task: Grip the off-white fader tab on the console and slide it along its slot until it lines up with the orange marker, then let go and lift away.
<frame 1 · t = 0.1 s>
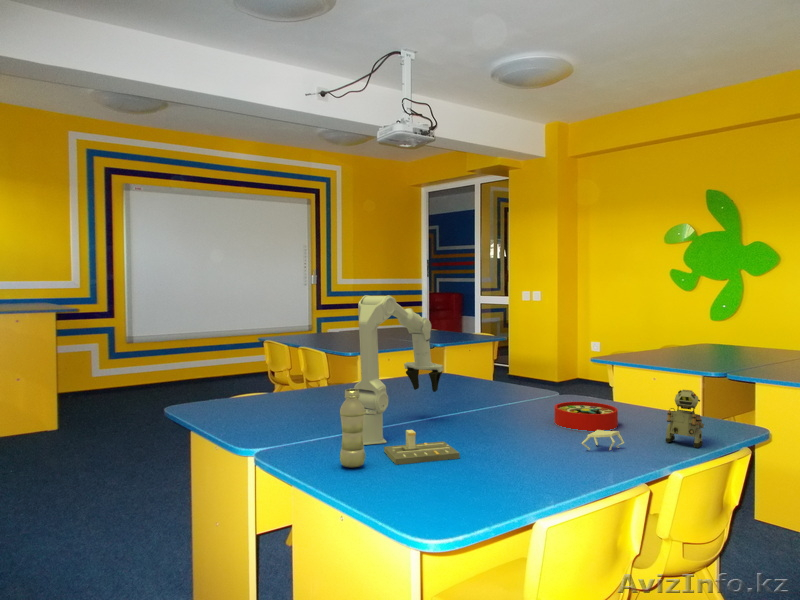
hand: (425, 389, 199), 11 cm above the table, tool pointing down, fingers open, 7 cm apart
fader: (410, 441, 157), point 4 cm above the table, slide at -3.0 cm
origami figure: (599, 450, 163), on the table
red round tray: (585, 425, 191), on the table
figurine: (686, 443, 169), on the table
plastic bottle: (352, 467, 149), on the table
console: (421, 455, 159), on the table
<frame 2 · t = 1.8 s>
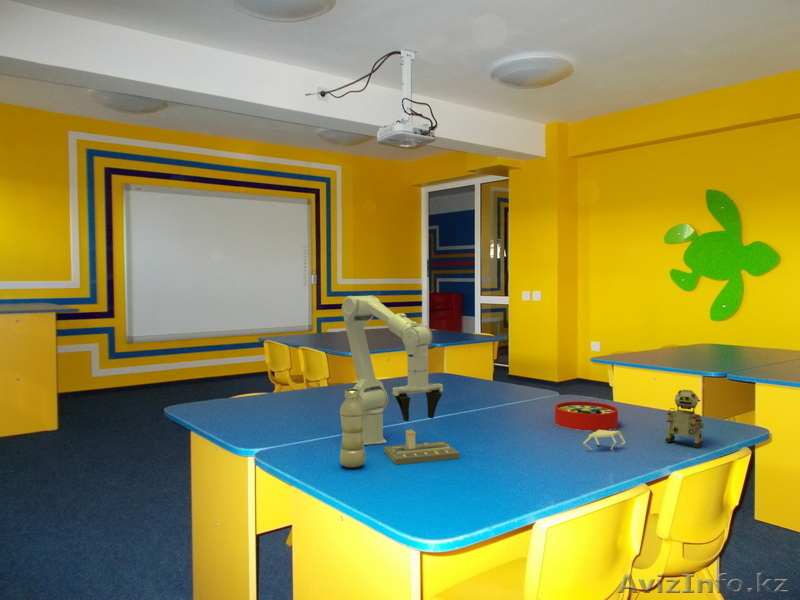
hand: (418, 419, 158), 10 cm above the table, tool pointing down, fingers open, 7 cm apart
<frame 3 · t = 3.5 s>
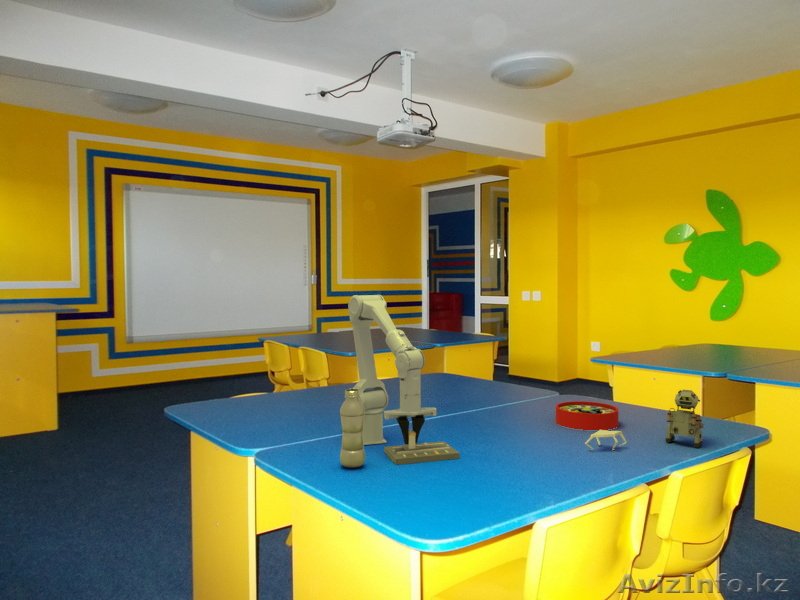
hand: (410, 443, 158), 4 cm above the table, tool pointing down, fingers closed on fader, 2 cm apart
fader: (410, 441, 157), point 4 cm above the table, slide at -3.0 cm, touching gripper
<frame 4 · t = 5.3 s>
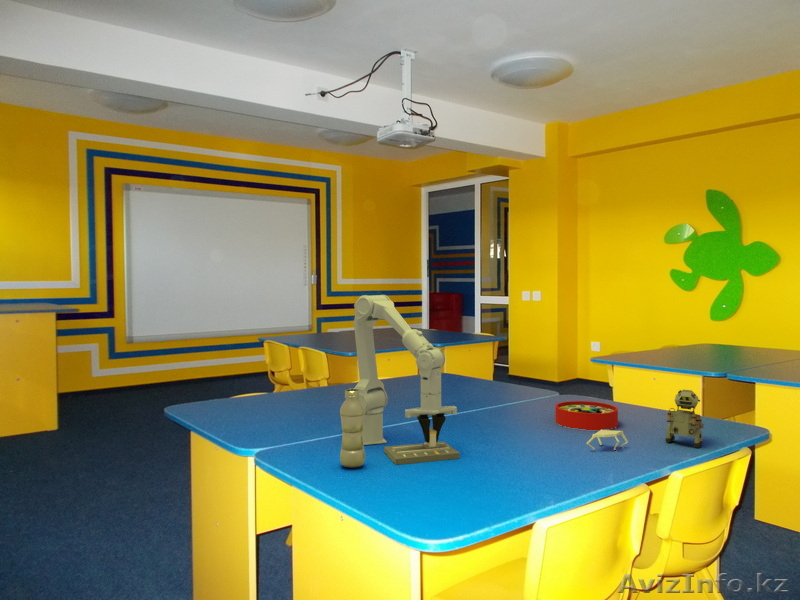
hand: (431, 441, 159), 4 cm above the table, tool pointing down, fingers closed on fader, 2 cm apart
fader: (431, 439, 159), point 4 cm above the table, slide at 3.0 cm, touching gripper
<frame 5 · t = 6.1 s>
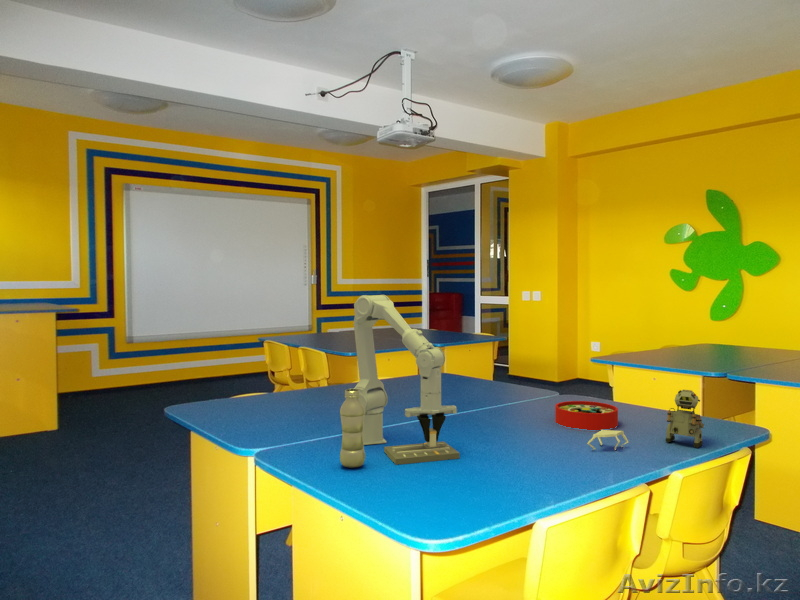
hand: (431, 440, 159), 4 cm above the table, tool pointing down, fingers closed on fader, 2 cm apart
fader: (431, 439, 159), point 4 cm above the table, slide at 3.0 cm, touching gripper
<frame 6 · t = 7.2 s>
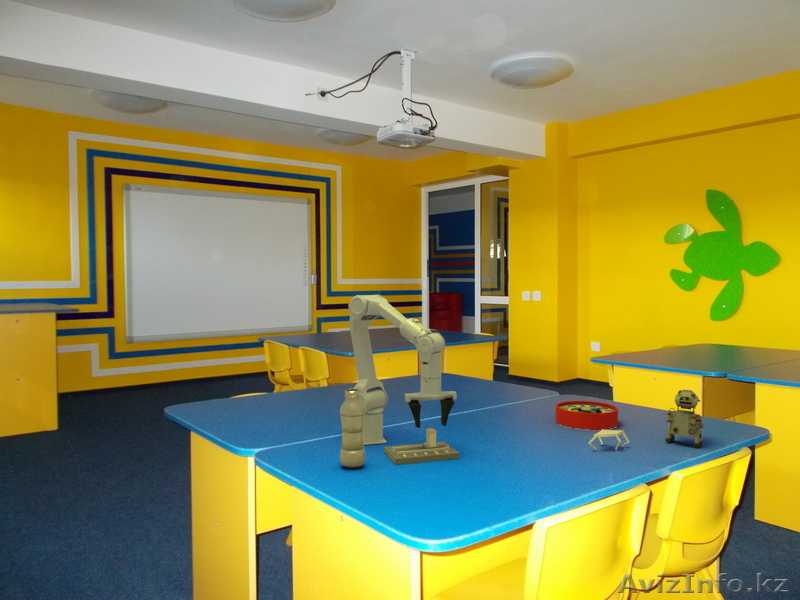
hand: (430, 426, 159), 8 cm above the table, tool pointing down, fingers open, 7 cm apart
fader: (431, 439, 159), point 4 cm above the table, slide at 3.0 cm
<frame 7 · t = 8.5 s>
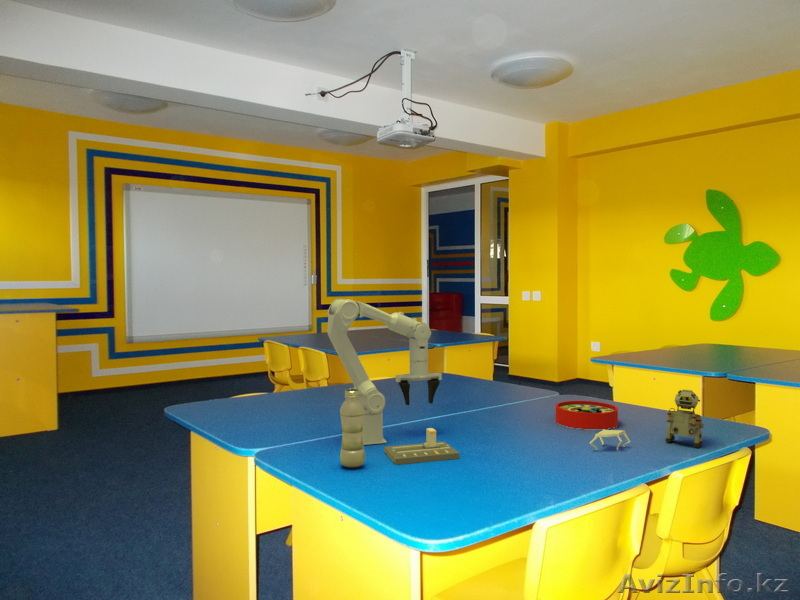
hand: (419, 403, 179), 10 cm above the table, tool pointing down, fingers open, 7 cm apart
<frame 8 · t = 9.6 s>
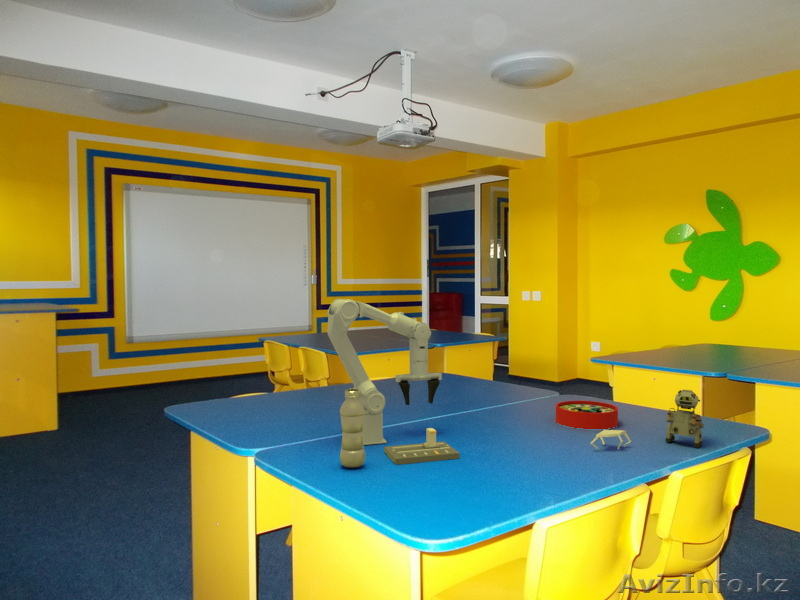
hand: (419, 403, 179), 10 cm above the table, tool pointing down, fingers open, 7 cm apart
at the end: fader slide at 3.0 cm; the gripper is holding nothing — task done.
